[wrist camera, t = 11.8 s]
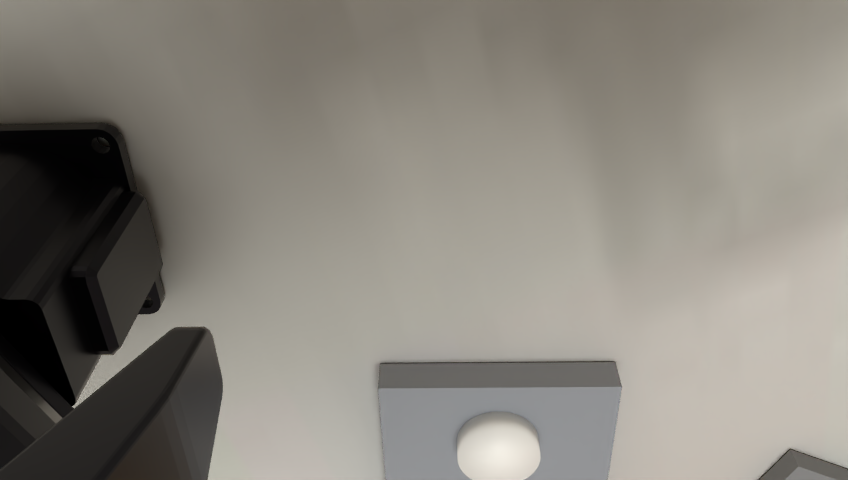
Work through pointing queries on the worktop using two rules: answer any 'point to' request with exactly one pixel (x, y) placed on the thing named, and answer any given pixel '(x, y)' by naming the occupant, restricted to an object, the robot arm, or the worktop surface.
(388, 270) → the worktop surface
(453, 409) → the indicator board
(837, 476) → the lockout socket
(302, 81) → the worktop surface
